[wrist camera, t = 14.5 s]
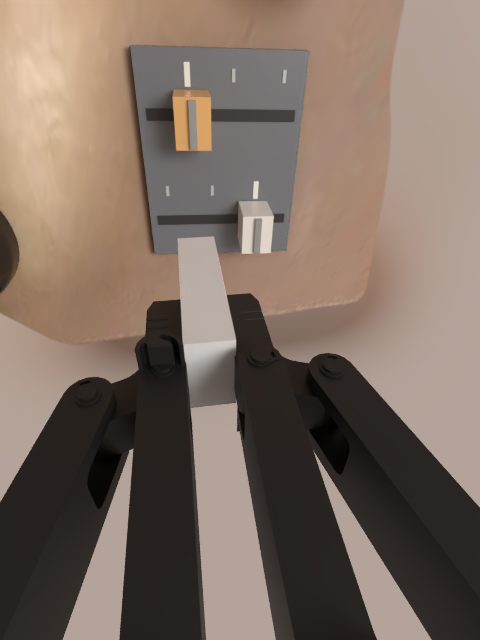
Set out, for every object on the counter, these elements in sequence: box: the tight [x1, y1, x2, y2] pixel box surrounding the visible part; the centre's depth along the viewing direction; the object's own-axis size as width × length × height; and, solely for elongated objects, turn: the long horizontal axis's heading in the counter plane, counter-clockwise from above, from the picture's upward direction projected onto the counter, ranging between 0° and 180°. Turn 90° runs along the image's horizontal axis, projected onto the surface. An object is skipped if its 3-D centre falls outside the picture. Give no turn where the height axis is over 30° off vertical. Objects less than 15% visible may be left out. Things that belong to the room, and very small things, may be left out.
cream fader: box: [238, 201, 274, 254], centre depth 40 cm, size 3×4×4 cm
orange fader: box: [173, 89, 212, 151], centre depth 33 cm, size 3×4×4 cm
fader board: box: [130, 45, 309, 254], centre depth 38 cm, size 15×19×1 cm
